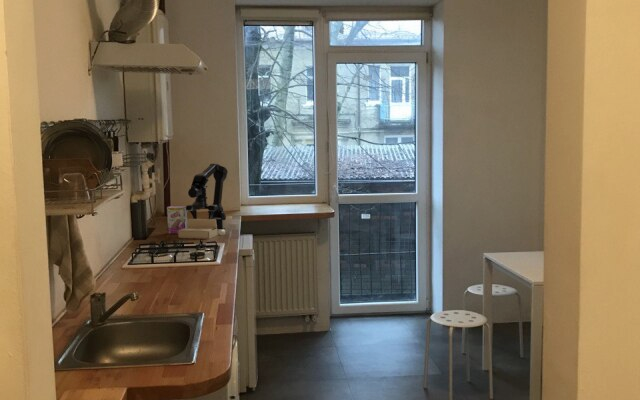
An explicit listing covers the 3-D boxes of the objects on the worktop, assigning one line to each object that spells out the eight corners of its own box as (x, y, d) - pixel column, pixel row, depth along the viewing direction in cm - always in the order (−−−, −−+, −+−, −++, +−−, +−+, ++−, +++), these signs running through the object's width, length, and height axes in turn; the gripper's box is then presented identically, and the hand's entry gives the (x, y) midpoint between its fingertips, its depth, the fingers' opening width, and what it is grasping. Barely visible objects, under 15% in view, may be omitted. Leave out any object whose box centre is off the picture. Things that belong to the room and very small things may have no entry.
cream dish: (216, 233, 406) (216, 229, 406) (227, 233, 404) (226, 229, 404) (211, 235, 400) (211, 230, 399) (222, 235, 398) (222, 231, 397)
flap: (188, 227, 403) (188, 227, 403) (216, 227, 397) (216, 227, 398) (187, 219, 401) (187, 218, 402) (215, 219, 396) (216, 219, 397)
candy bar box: (167, 234, 407) (166, 207, 405) (170, 232, 412) (169, 206, 410) (185, 234, 406) (184, 207, 404) (188, 232, 411) (186, 206, 409)
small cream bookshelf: (187, 234, 404) (187, 226, 403) (218, 235, 398) (217, 227, 397) (177, 238, 392) (177, 230, 392) (209, 238, 387) (208, 230, 386)
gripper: (180, 197, 394) (182, 223, 396) (209, 197, 388) (211, 224, 390) (189, 195, 404) (190, 220, 406) (218, 195, 399) (219, 221, 401)
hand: (202, 221), depth 401 cm, fingers open, 9 cm apart
